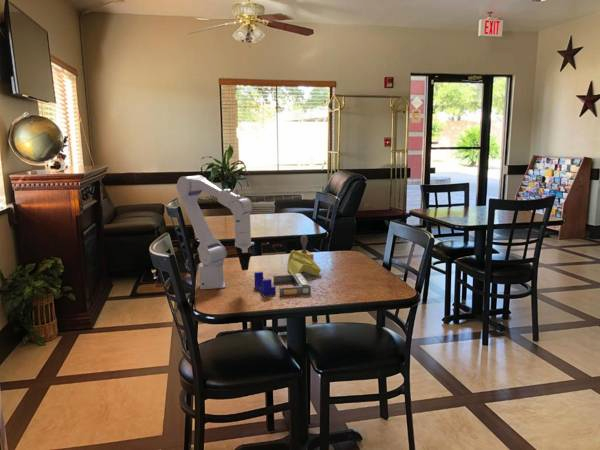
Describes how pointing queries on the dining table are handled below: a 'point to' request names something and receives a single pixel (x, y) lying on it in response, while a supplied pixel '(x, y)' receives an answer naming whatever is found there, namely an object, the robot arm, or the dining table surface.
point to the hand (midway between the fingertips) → (244, 267)
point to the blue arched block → (264, 284)
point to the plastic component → (302, 264)
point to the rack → (298, 281)
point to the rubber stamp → (304, 243)
